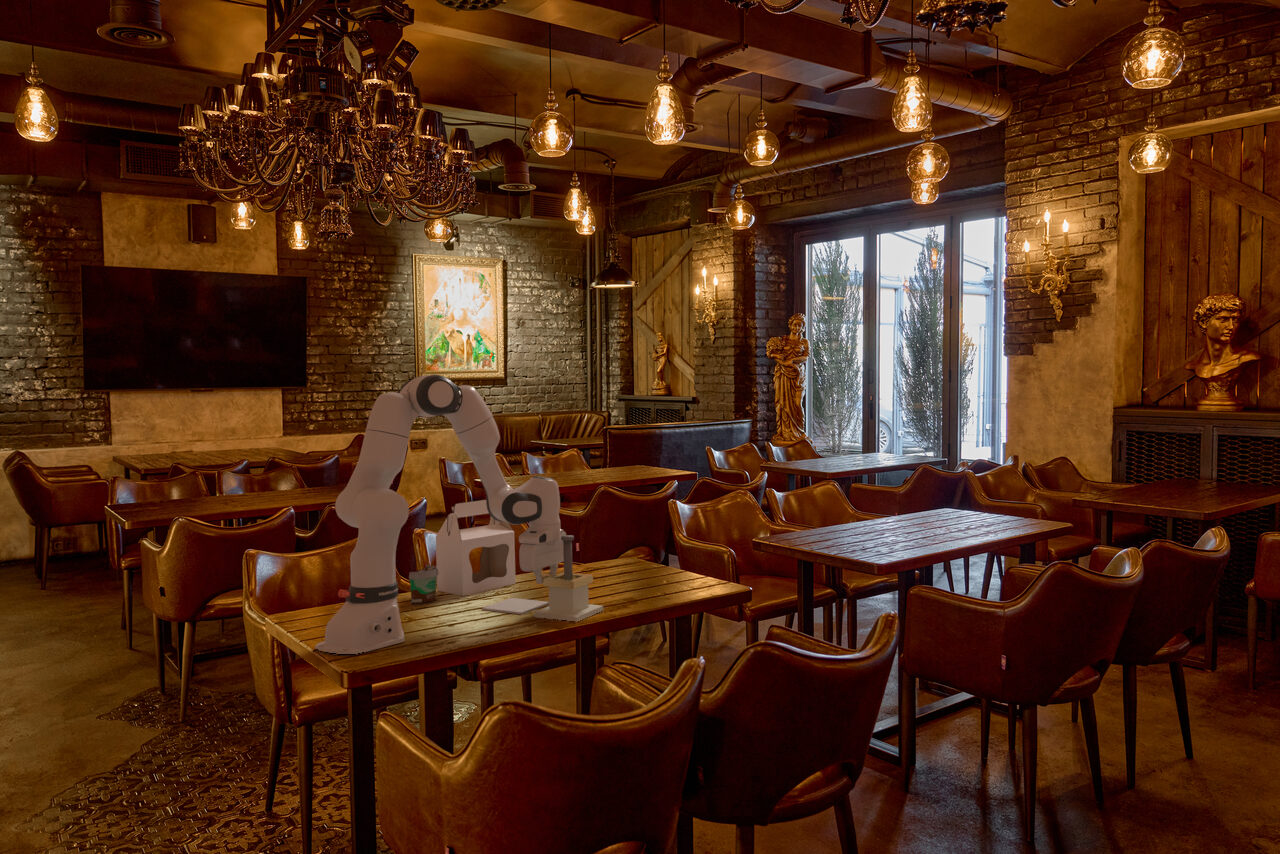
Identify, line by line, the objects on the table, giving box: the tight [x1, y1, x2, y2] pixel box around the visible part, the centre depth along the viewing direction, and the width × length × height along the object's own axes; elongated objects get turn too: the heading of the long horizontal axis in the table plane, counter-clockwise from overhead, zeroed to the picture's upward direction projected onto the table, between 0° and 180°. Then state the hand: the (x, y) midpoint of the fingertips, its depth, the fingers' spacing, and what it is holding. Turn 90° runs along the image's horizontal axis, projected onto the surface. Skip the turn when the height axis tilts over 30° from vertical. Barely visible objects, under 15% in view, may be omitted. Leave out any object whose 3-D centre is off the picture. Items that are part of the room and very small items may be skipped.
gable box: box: [435, 499, 517, 597], centre depth 291 cm, size 22×13×28 cm, turn 139°
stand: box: [533, 534, 604, 623], centre depth 253 cm, size 14×14×22 cm
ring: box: [541, 571, 594, 589], centre depth 255 cm, size 10×15×2 cm, turn 62°
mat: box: [481, 597, 549, 615], centre depth 264 cm, size 14×14×1 cm
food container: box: [408, 564, 439, 606], centre depth 273 cm, size 12×6×10 cm, turn 168°
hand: (546, 581), depth 257 cm, fingers open, 4 cm apart
